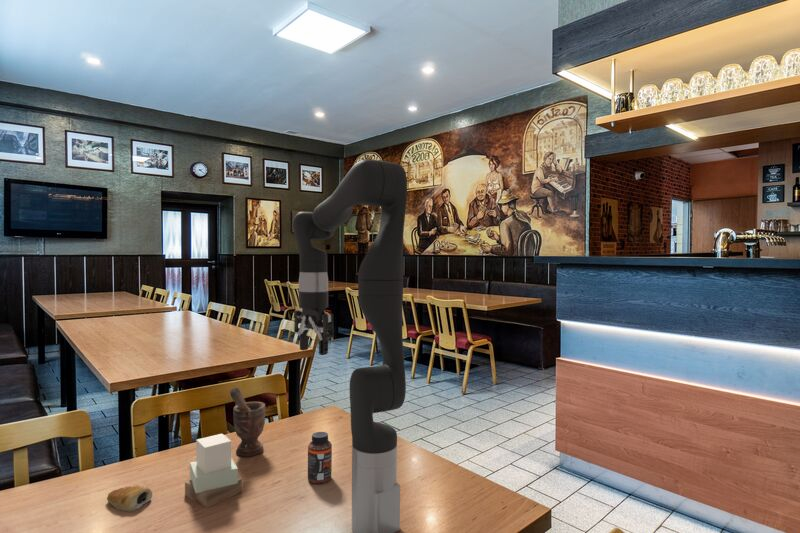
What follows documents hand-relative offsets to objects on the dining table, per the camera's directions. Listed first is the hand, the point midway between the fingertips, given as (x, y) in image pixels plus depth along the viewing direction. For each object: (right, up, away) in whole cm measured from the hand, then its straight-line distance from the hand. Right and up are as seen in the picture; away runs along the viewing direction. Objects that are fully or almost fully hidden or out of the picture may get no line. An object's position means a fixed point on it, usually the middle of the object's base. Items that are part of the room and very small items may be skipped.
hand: (313, 352), depth 121 cm
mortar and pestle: (-20, -31, +10) cm, 38 cm away
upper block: (-21, -28, -11) cm, 37 cm away
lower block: (-21, -32, -11) cm, 40 cm away
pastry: (-38, -32, -16) cm, 52 cm away
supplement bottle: (+2, -31, -4) cm, 32 cm away
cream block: (-21, -25, -11) cm, 34 cm away
